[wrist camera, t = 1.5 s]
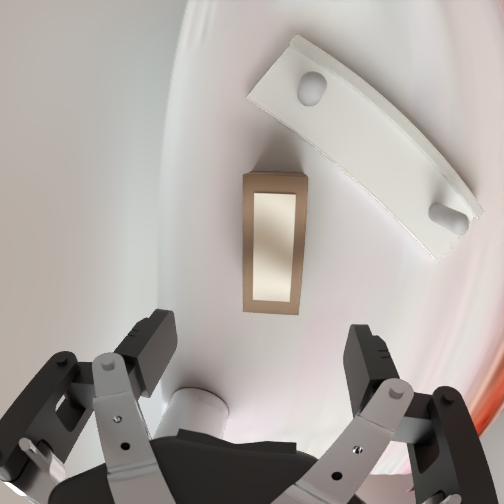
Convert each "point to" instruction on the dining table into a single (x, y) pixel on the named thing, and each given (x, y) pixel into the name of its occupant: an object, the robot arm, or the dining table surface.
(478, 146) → the dining table surface
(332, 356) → the dining table surface
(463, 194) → the board
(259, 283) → the frame
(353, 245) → the dining table surface
